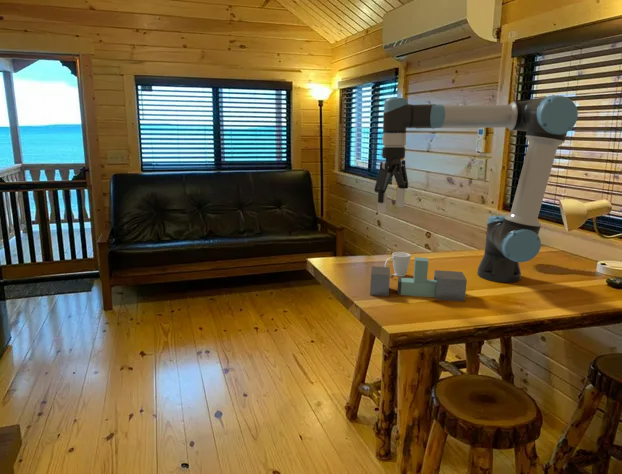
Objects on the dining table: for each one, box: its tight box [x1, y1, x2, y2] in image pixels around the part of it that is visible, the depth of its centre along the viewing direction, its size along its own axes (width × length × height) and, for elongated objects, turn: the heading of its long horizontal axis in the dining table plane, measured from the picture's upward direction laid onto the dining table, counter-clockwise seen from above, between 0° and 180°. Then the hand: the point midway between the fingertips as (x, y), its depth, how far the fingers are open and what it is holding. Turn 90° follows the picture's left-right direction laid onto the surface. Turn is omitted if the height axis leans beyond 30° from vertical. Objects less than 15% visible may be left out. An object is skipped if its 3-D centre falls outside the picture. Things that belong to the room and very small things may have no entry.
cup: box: [383, 251, 412, 278], centre depth 175 cm, size 7×10×8 cm
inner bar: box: [396, 256, 437, 298], centre depth 155 cm, size 21×4×12 cm, turn 81°
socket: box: [369, 265, 391, 297], centre depth 158 cm, size 6×9×7 cm
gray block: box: [433, 269, 468, 303], centre depth 154 cm, size 9×9×7 cm
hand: (391, 209), depth 161 cm, fingers open, 13 cm apart
